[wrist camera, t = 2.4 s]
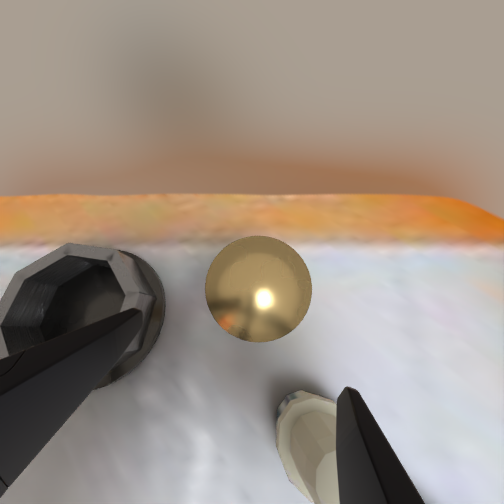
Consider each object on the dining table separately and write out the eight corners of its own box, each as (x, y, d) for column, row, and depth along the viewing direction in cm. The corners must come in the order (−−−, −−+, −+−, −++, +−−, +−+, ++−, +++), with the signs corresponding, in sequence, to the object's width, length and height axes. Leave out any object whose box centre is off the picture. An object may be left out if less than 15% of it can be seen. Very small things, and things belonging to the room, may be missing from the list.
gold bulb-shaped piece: (250, 353, 18) (244, 379, 9) (214, 299, 20) (177, 272, 10) (300, 312, 19) (344, 297, 10) (262, 264, 21) (268, 211, 11)
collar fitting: (57, 425, 17) (2, 452, 13) (14, 299, 20) (-39, 293, 16) (189, 328, 19) (173, 328, 15) (131, 230, 22) (107, 211, 19)
